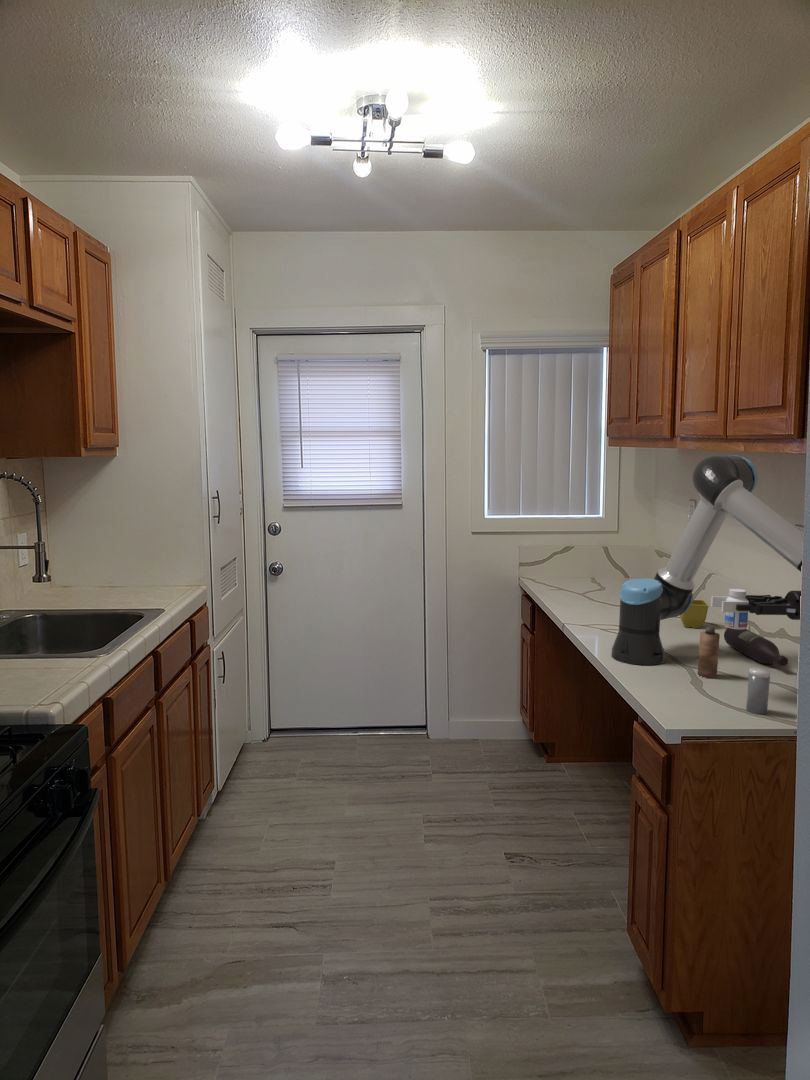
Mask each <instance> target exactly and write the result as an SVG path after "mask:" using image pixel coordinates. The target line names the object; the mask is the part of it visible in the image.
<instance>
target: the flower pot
mask: <svg viewBox="0 0 810 1080" xmlns="http://www.w3.org/2000/svg"><path fill="white" fill-rule="evenodd" d="M708 609H709V604H708V603H707V602H706V600H704V599H703V600H702V599H693V602H692V604H691V606H690V608H689V609H688V610H687V611H686V612H685V613H683V614H681V615H679V617H680V620H681V622H682V624H683V626H684V628H686V627H688V628H689V627H692V628H693V629H701V628H702V627H703V625H704V623H705V622H706V619H707V615H708Z"/></svg>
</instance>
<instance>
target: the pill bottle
mask: <svg viewBox="0 0 810 1080" xmlns="http://www.w3.org/2000/svg"><path fill="white" fill-rule="evenodd" d="M746 595H747V590H745V589H742V588H741V589H740V588H729V591H728V596H730V597H728V598H727V599H726V601H747V602H749V601H748V600H747V599H745V597H746ZM748 620H749V612H748V613H742V612H724V627H725V628H726V629H727V628H731V629H739V630H741V629H747V628H748Z"/></svg>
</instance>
